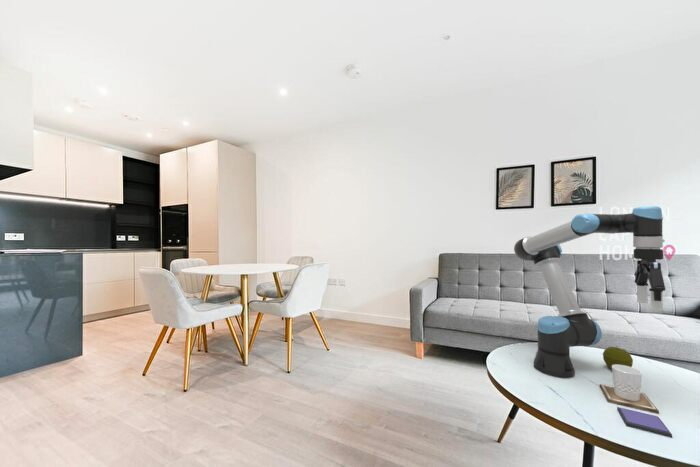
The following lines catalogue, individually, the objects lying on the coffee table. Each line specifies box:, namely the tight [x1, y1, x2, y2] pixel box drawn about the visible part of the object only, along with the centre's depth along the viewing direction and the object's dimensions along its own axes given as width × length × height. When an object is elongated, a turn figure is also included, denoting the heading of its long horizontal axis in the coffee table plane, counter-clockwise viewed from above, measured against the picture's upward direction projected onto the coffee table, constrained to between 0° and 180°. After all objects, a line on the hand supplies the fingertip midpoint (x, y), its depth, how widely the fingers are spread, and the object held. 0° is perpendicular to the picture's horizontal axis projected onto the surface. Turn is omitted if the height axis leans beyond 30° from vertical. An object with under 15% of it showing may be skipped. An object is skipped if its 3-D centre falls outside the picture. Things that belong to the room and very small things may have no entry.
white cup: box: [611, 365, 642, 401], centre depth 105 cm, size 8×8×10 cm
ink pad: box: [616, 406, 673, 438], centre depth 91 cm, size 10×10×1 cm
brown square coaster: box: [599, 383, 660, 415], centre depth 104 cm, size 13×13×1 cm
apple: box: [602, 346, 634, 370], centre depth 128 cm, size 10×10×11 cm
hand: (649, 306), depth 103 cm, fingers open, 13 cm apart
